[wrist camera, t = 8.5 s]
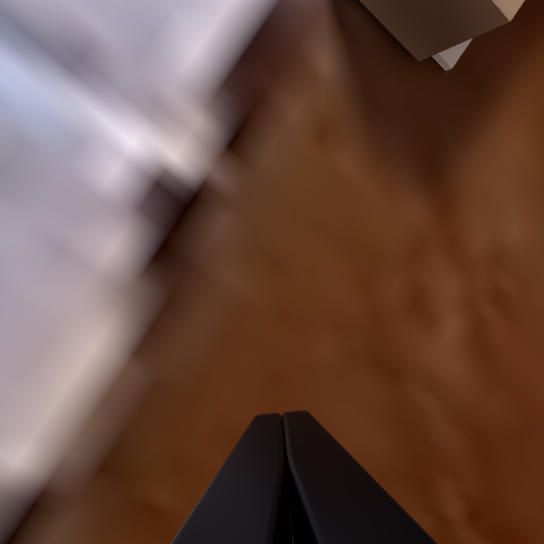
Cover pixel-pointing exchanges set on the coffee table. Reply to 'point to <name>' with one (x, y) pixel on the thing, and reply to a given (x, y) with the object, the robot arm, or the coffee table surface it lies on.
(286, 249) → the coffee table surface
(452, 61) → the felt mat
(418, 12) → the cardboard box
